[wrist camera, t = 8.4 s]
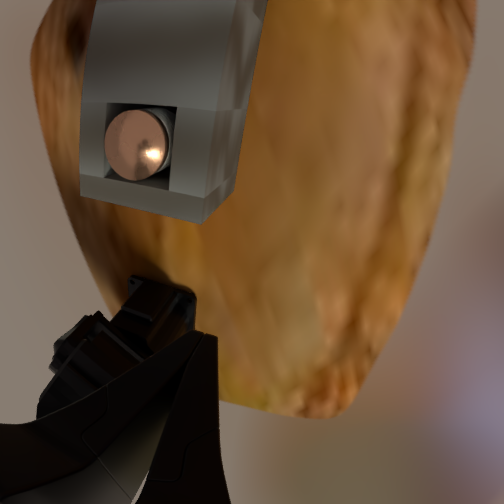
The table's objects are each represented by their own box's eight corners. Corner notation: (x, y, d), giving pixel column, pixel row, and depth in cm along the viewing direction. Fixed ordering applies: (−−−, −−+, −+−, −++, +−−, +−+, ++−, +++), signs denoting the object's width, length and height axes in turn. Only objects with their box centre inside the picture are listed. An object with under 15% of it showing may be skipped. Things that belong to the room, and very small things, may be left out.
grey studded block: (233, 190, 20) (201, 224, 15) (132, 170, 21) (80, 195, 16) (277, -45, 12) (258, -90, 7) (164, -42, 13) (118, -71, 8)
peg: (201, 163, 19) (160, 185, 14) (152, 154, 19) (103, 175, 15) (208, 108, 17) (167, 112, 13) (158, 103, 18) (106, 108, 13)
